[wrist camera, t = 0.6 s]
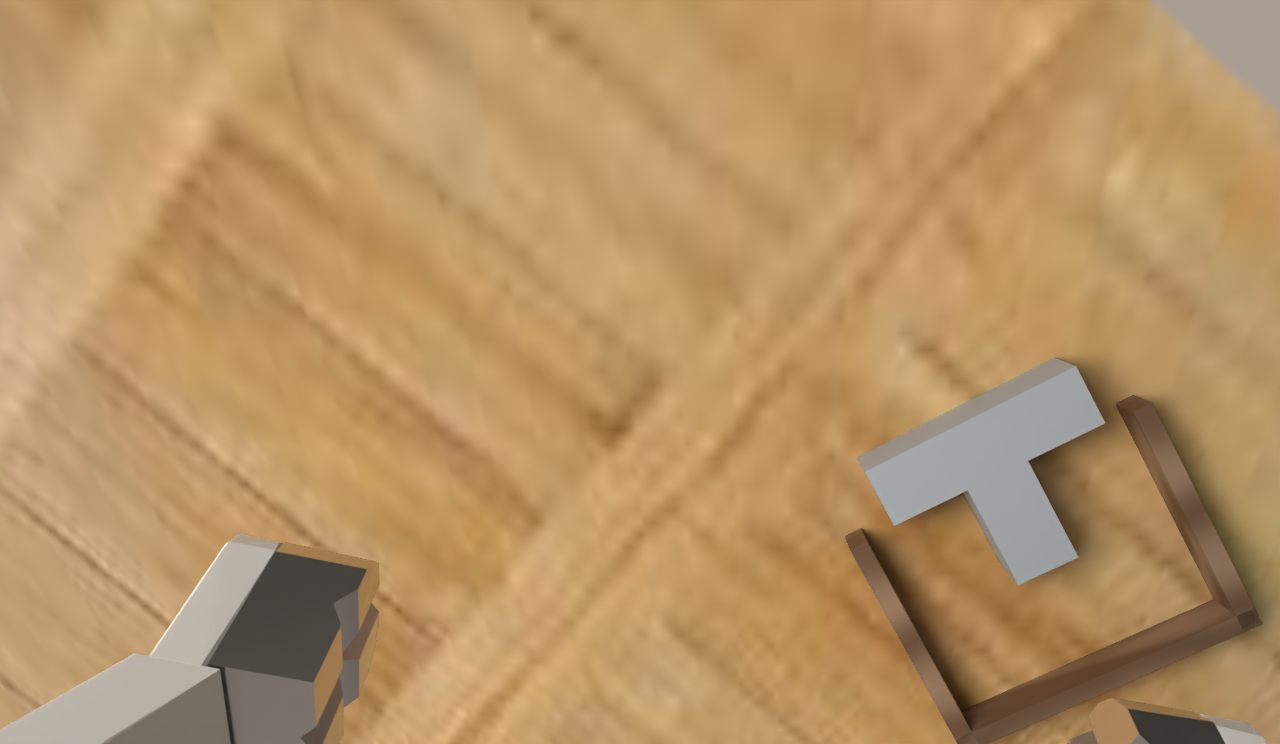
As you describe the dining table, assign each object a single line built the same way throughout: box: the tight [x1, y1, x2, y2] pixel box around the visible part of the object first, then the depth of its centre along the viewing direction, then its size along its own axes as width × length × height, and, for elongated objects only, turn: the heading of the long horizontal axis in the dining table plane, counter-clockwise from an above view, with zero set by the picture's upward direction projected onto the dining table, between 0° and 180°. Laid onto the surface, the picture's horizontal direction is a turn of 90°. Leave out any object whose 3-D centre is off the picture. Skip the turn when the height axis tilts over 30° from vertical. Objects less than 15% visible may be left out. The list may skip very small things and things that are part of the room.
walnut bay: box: [845, 395, 1262, 744], centre depth 57 cm, size 16×20×2 cm
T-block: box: [857, 358, 1105, 585], centre depth 56 cm, size 11×14×4 cm
